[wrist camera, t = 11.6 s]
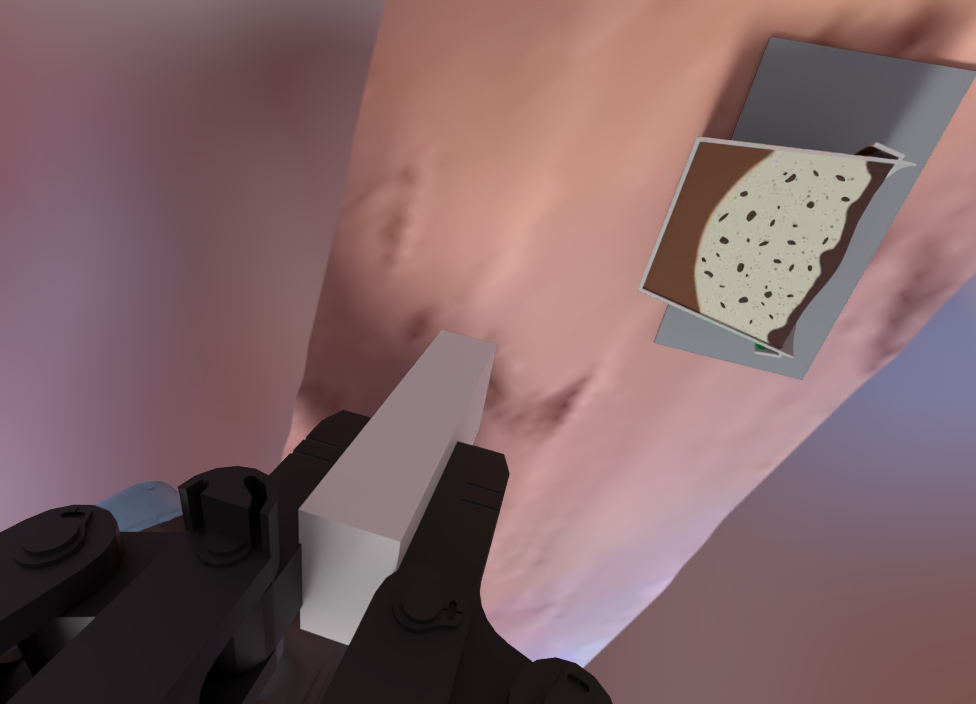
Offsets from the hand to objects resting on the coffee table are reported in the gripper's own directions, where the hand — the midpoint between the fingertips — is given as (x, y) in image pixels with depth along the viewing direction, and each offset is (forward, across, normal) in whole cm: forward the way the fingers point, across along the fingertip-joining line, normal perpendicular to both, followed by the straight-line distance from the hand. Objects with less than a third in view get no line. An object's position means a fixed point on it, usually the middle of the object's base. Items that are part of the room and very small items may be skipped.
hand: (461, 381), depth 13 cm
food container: (+23, +7, +3) cm, 24 cm away
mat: (+24, +16, +3) cm, 29 cm away
